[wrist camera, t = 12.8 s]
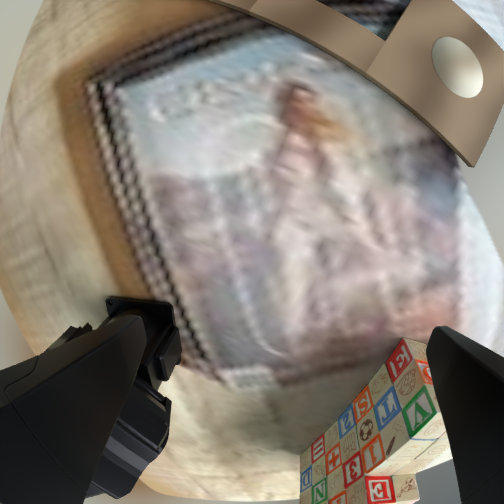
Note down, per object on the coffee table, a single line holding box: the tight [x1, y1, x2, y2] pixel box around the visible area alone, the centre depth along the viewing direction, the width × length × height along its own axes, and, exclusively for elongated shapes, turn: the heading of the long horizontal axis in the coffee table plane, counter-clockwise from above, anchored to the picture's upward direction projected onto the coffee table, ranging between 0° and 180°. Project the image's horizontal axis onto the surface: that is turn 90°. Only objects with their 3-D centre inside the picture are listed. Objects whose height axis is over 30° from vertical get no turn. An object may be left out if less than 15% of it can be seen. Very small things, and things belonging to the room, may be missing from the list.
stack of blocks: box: [300, 338, 450, 504], centre depth 21 cm, size 21×6×12 cm, turn 160°
